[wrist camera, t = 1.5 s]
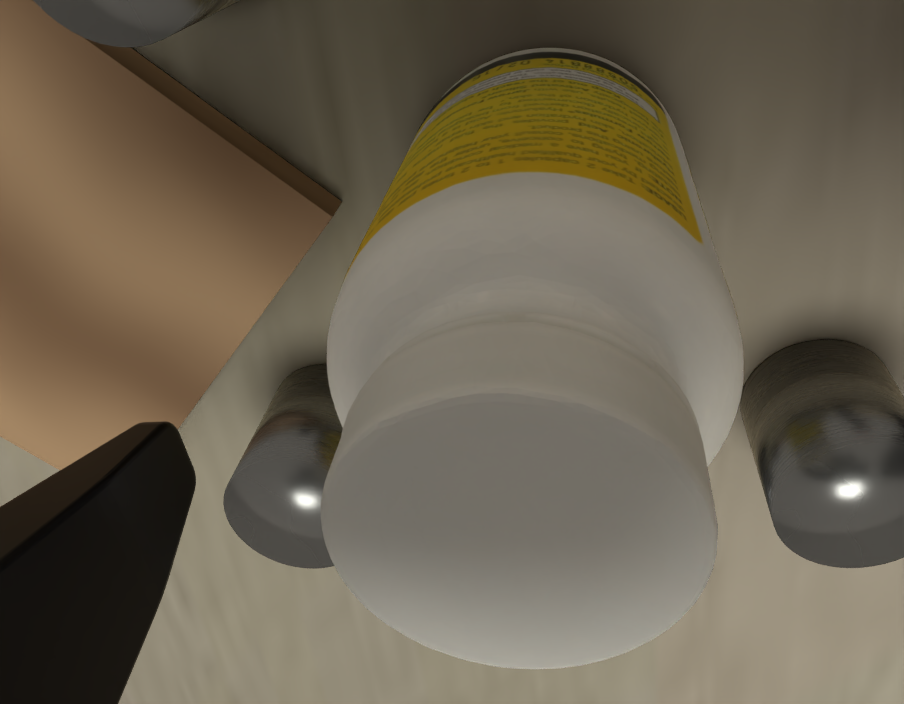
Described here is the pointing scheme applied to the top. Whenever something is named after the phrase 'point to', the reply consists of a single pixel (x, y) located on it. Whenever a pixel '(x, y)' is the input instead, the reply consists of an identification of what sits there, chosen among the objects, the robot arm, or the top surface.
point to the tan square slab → (126, 238)
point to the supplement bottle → (533, 374)
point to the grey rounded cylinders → (762, 406)
